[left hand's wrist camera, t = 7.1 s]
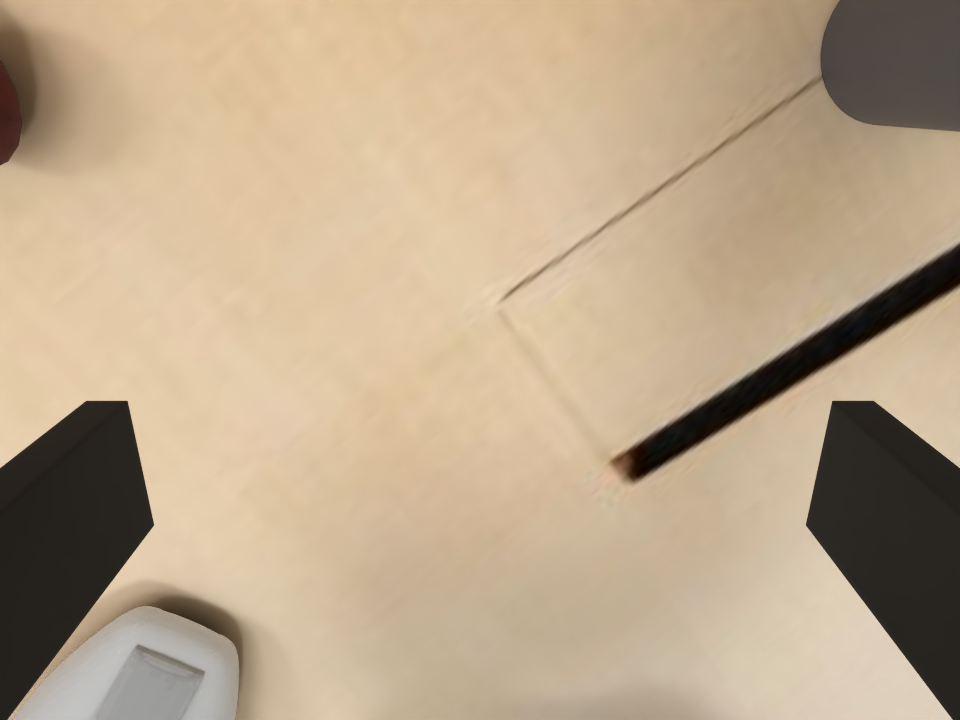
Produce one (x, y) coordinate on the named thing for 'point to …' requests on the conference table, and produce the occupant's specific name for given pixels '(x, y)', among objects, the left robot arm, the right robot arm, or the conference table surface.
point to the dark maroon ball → (8, 117)
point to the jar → (895, 62)
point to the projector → (142, 673)
